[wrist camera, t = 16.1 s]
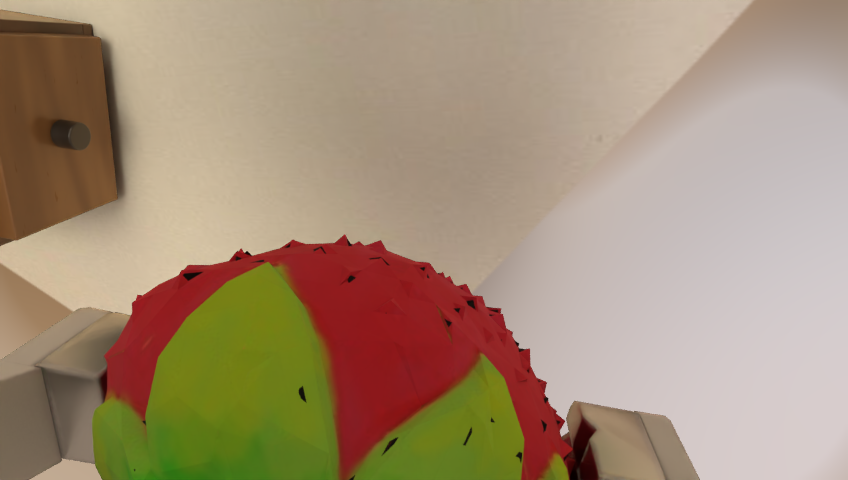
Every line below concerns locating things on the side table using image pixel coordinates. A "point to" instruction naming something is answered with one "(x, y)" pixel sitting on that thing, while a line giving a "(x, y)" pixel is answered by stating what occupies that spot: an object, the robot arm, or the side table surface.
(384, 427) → the strawberry
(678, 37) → the side table surface
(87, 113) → the wooden drawer
